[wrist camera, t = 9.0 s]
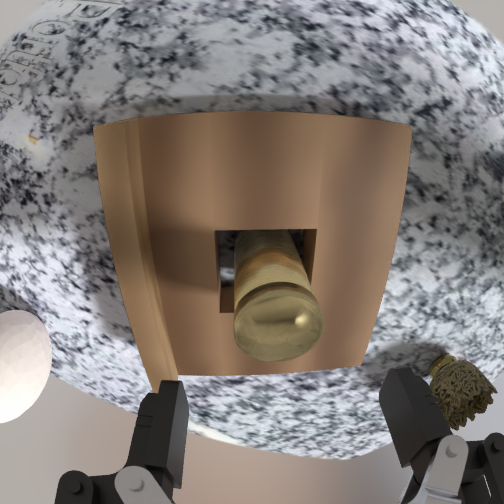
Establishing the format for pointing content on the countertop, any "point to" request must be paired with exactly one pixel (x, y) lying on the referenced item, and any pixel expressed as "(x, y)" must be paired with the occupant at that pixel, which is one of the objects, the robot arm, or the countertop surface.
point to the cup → (459, 390)
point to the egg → (22, 362)
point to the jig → (248, 226)
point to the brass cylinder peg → (273, 298)
